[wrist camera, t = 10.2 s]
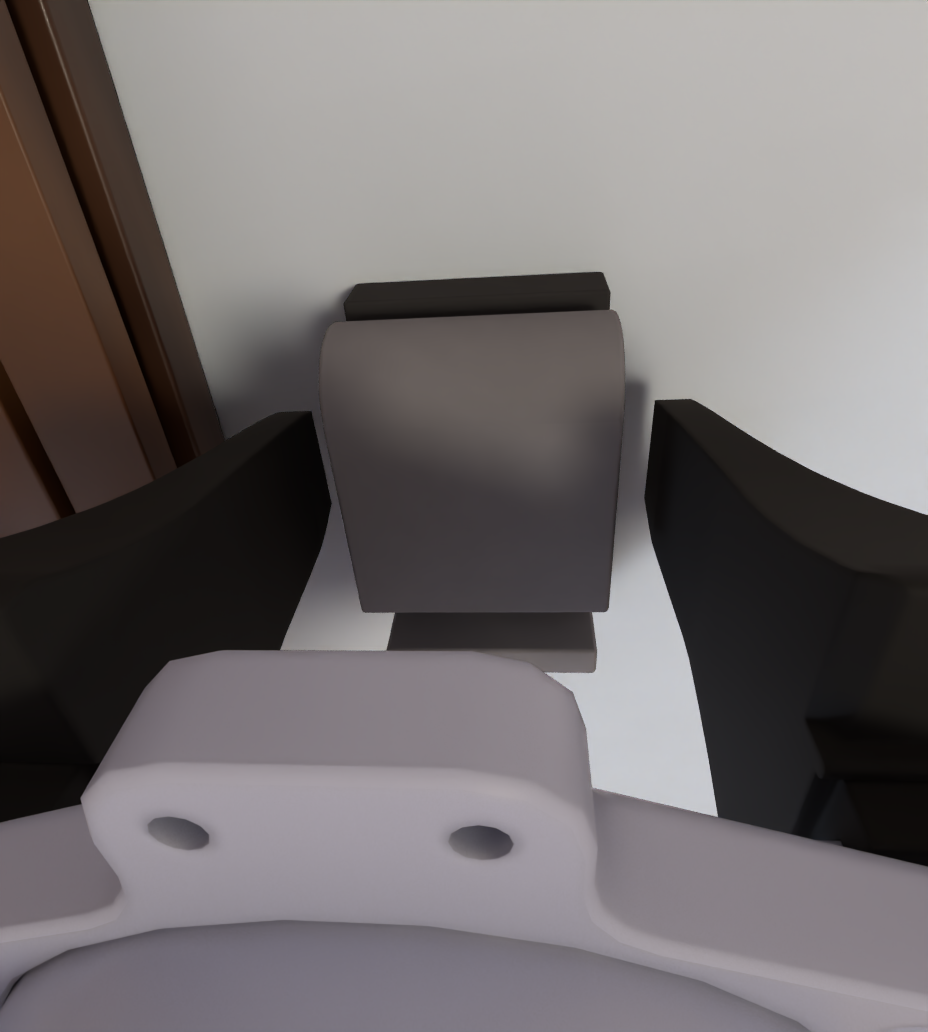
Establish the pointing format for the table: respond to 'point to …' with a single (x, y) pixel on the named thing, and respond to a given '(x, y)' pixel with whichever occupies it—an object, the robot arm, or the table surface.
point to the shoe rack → (82, 287)
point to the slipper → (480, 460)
